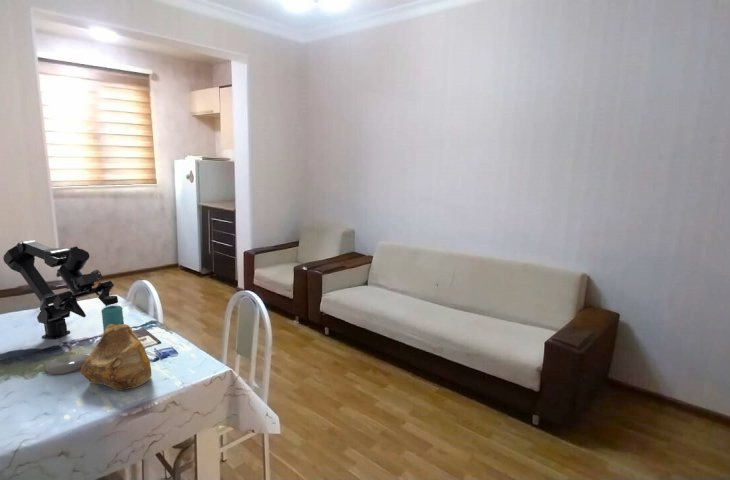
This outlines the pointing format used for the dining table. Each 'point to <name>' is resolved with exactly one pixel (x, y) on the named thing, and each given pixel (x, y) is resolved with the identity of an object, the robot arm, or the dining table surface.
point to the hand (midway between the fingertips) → (98, 312)
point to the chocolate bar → (146, 338)
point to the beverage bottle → (112, 312)
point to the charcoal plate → (66, 364)
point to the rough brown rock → (118, 360)
